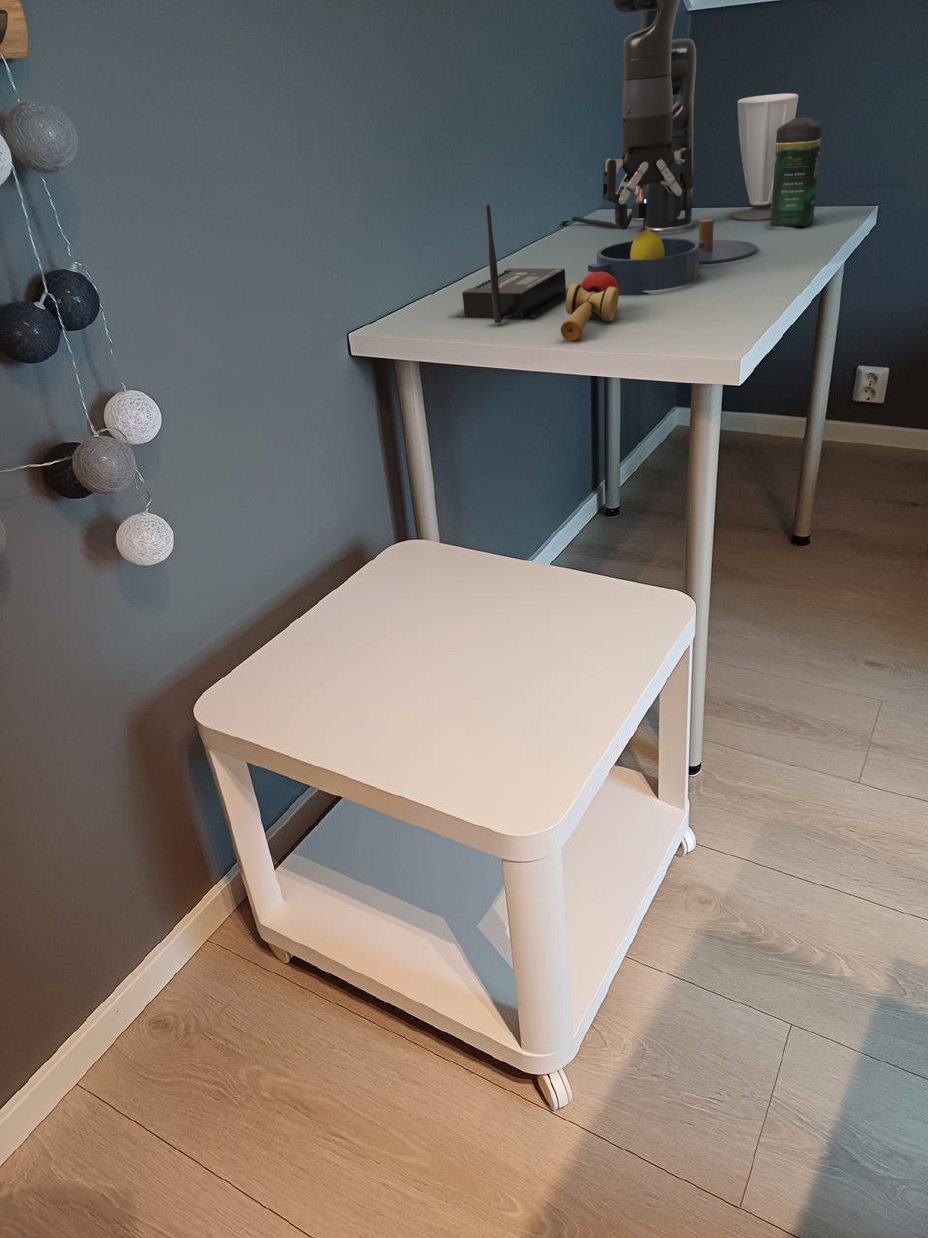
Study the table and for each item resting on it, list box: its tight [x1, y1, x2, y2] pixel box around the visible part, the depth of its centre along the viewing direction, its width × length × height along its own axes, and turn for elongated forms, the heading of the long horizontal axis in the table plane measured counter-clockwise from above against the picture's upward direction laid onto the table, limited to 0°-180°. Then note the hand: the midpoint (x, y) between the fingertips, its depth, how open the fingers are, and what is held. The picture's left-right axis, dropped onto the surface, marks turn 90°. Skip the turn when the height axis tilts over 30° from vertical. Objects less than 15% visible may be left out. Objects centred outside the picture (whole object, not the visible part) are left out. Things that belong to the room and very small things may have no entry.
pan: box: [587, 237, 705, 296], centre depth 155 cm, size 16×22×5 cm
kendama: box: [560, 272, 620, 342], centre depth 137 cm, size 8×6×18 cm
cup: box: [732, 93, 799, 221], centre depth 190 cm, size 12×12×22 cm
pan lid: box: [698, 218, 758, 265], centre depth 167 cm, size 17×17×6 cm
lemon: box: [630, 229, 665, 259], centre depth 155 cm, size 6×6×8 cm
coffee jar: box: [769, 116, 823, 229], centre depth 180 cm, size 10×8×19 cm
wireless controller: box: [456, 203, 568, 324], centre depth 147 cm, size 20×14×17 cm
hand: (647, 224), depth 152 cm, fingers open, 8 cm apart
